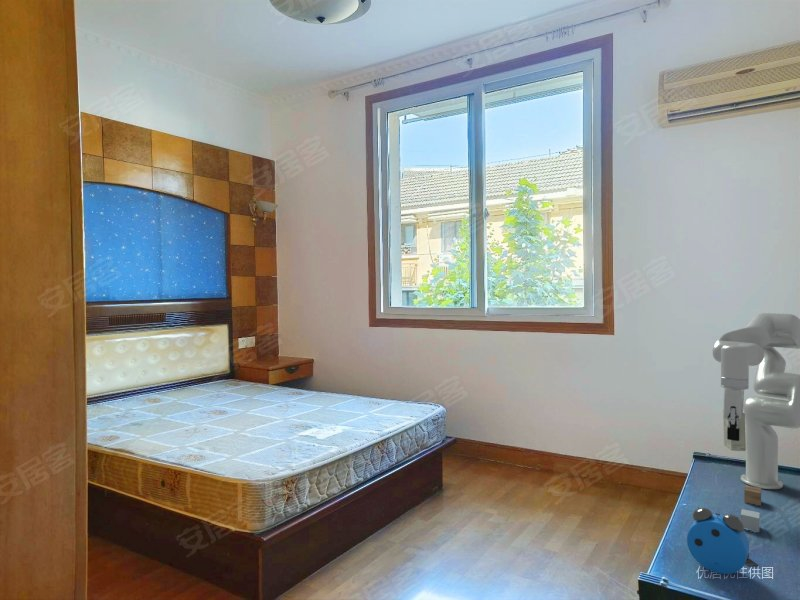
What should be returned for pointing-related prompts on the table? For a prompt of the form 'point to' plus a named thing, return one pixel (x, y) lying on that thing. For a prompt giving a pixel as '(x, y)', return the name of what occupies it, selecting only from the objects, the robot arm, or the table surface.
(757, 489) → the walnut block
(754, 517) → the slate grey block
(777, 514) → the table surface
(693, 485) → the table surface
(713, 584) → the table surface
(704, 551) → the alarm clock
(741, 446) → the skincare box
